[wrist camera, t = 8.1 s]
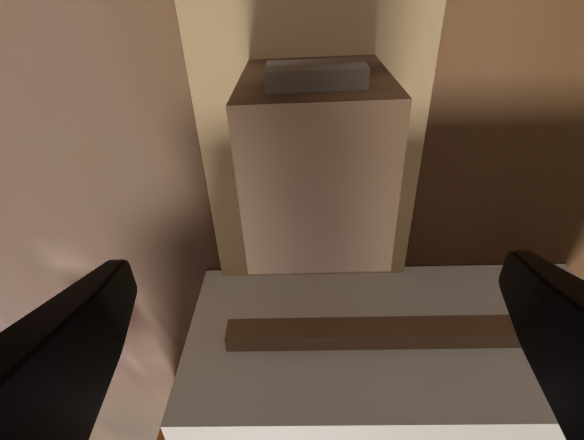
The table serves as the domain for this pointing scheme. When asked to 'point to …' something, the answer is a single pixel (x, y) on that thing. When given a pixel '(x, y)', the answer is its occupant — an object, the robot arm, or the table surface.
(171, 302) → the table surface
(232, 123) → the cabinet block
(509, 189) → the table surface
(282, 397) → the white slotted box
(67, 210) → the table surface
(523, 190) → the table surface
